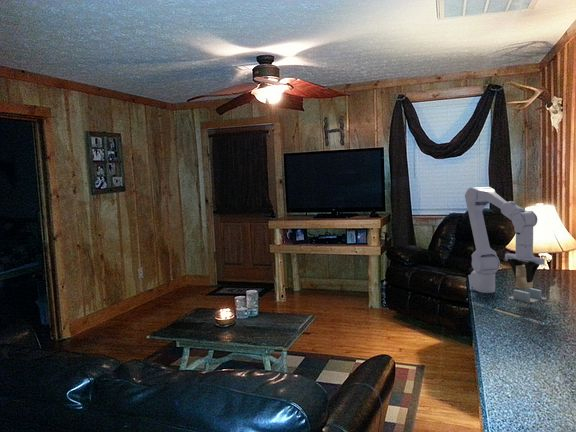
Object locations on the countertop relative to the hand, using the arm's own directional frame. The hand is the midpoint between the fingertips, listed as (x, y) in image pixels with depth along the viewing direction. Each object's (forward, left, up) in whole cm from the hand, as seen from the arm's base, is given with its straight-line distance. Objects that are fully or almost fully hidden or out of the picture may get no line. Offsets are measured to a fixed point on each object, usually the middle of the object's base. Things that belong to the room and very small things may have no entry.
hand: (523, 280), depth 168 cm
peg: (0, 0, -3) cm, 3 cm away
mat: (+3, -6, -10) cm, 12 cm away
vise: (-4, +8, -10) cm, 13 cm away
